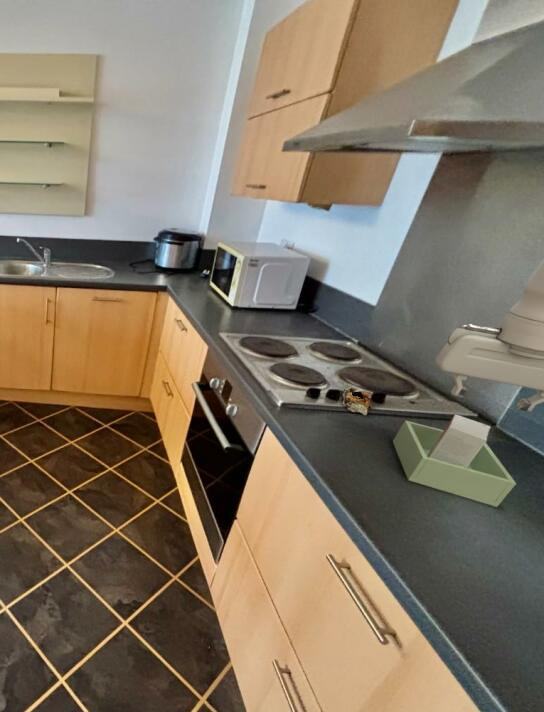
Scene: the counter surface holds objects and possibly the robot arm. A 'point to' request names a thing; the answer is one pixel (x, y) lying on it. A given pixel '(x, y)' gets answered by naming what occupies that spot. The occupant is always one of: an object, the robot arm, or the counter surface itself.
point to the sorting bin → (451, 467)
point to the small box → (460, 441)
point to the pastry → (356, 400)
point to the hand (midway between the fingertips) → (488, 402)
